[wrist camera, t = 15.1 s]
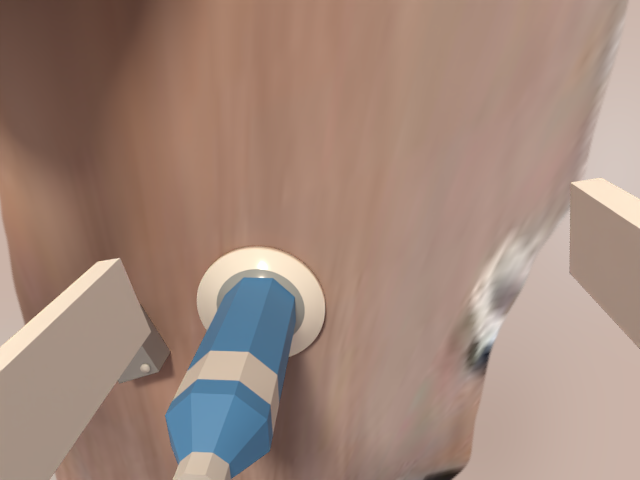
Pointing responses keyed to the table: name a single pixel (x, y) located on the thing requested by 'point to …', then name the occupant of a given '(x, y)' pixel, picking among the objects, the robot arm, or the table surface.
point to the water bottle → (233, 383)
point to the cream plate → (266, 265)
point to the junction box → (147, 356)
